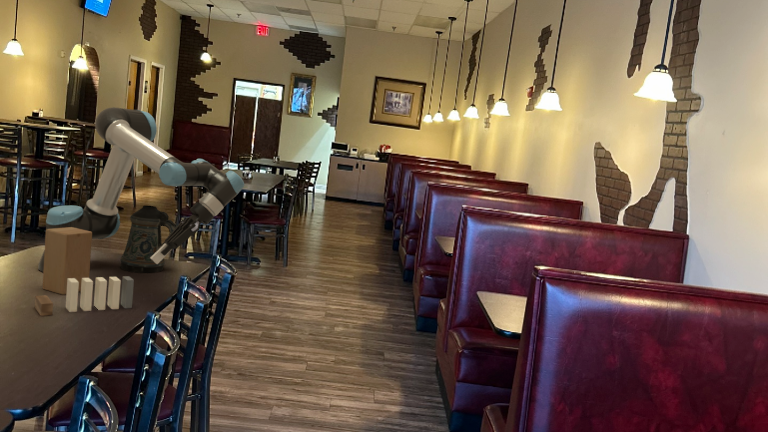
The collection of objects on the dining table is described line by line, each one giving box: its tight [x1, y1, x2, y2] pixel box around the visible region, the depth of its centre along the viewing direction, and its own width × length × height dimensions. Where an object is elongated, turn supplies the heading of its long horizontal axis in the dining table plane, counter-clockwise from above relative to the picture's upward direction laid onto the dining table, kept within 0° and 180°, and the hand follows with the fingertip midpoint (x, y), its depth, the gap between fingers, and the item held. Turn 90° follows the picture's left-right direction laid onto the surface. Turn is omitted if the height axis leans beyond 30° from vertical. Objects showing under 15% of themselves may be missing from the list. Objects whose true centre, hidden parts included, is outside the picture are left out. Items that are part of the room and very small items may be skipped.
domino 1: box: [65, 278, 79, 313], centre depth 194 cm, size 2×5×9 cm, turn 38°
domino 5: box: [120, 275, 135, 309], centre depth 203 cm, size 2×5×9 cm, turn 38°
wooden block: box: [42, 227, 93, 296], centre depth 213 cm, size 10×10×20 cm
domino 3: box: [93, 276, 108, 311], centre depth 199 cm, size 2×5×9 cm, turn 38°
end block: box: [34, 294, 54, 317], centre depth 189 cm, size 3×9×4 cm, turn 38°
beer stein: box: [120, 205, 177, 274], centre depth 255 cm, size 16×19×25 cm
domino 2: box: [79, 277, 94, 312], centre depth 196 cm, size 2×5×9 cm, turn 38°
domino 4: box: [106, 276, 122, 310], centre depth 201 cm, size 2×5×9 cm, turn 38°
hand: (153, 261), depth 207 cm, fingers closed
